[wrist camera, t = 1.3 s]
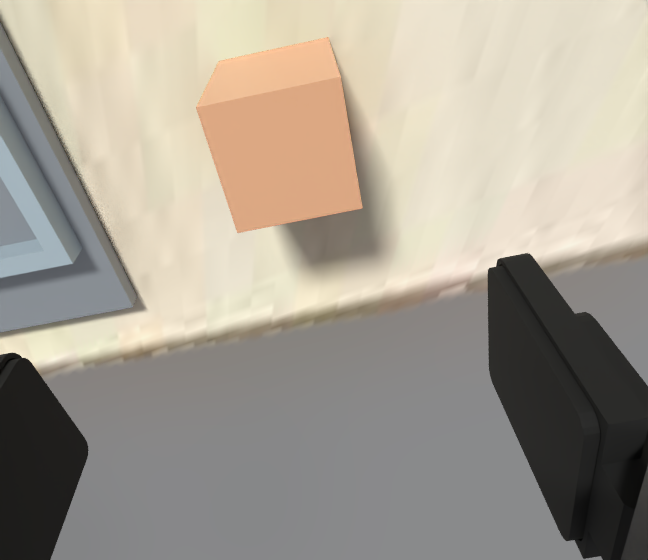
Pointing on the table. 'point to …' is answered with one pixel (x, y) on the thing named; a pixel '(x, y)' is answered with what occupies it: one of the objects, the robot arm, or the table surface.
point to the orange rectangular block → (281, 135)
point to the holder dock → (47, 219)
